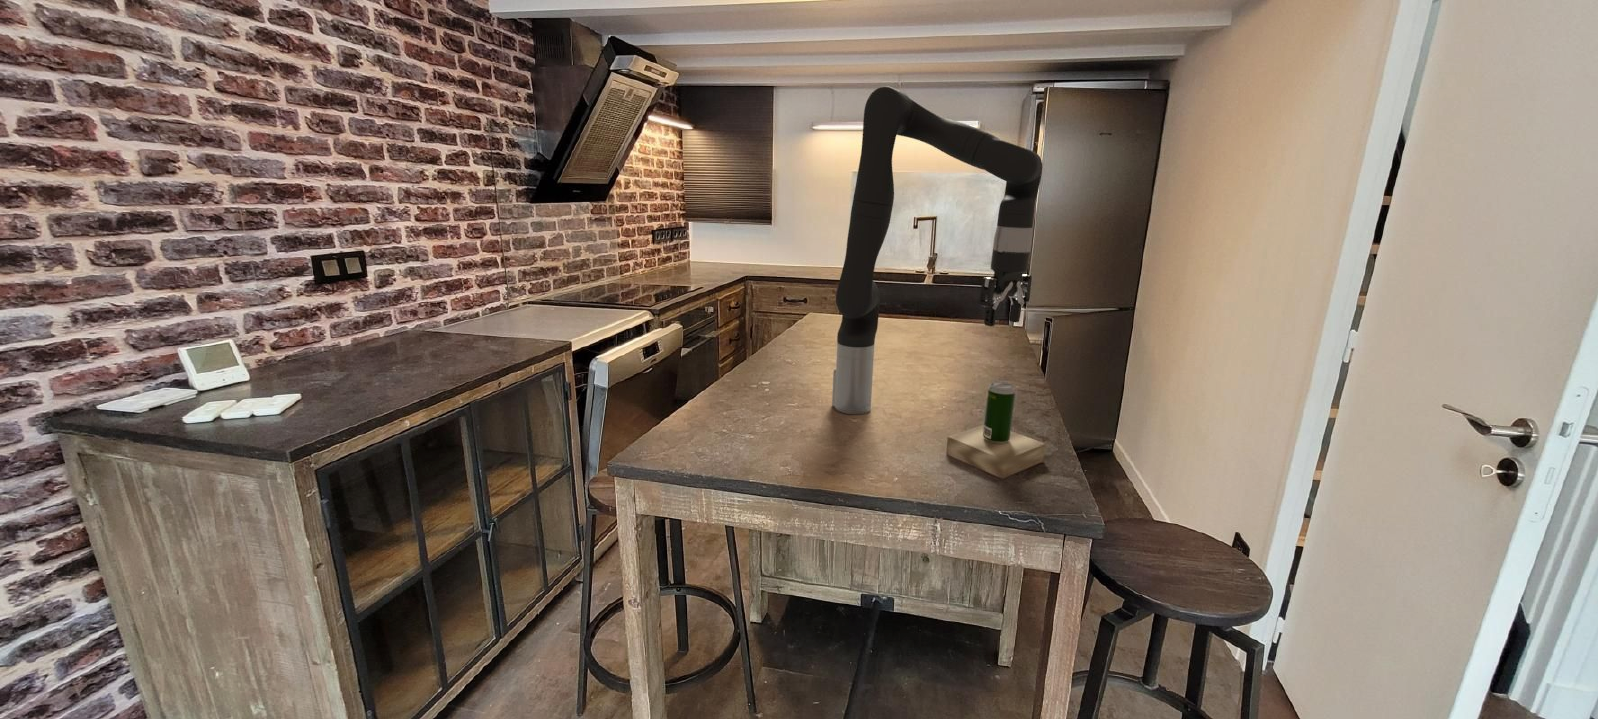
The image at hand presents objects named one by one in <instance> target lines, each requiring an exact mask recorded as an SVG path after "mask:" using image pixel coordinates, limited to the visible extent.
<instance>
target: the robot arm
mask: <svg viewBox="0 0 1598 719" xmlns="http://www.w3.org/2000/svg"><path fill="white" fill-rule="evenodd" d="M862 123H863V124H862V136H861V138H862V140H861V152H860V157H859V163H858V168H857V175H856V182H855V188H854V193H853V197H852V205H851V210H850V217H849V225H848V233H847V240H846V249H845V257H844V263H843V267H842V269H841V270H842V271H841V274H840V278H839V281H838V283H837V284H838V285H837V288H836V294H835V304H836V305H835V306H836V307H837V310H838V312H839V313H840V315H841V316H842V317H841V323H840V326H839V328H838V331H837V336H836V337H837V339H836V362H835V363H836V364H835V365H836V366H835V369H834V370H833V372H832V373H833V375H832V376H833V377H832V378H833V379H832V380H833V381H832V399H831V406H833V407H834V409H835V410H836V411H837V412H840V413H843V414H847V415H863V414H866V413H869V412H871V409H872V394H873V376H874V375H873V374H874V362H875V360H874V359H875V358H874V357H875V341H876V335H877V331H878V327H879V314H880V313H879V312H880V304H881V303H880V301H881V300H880V299H881V298H880V289H879V288H878V287H879V286H878V285H877V284H876V282H874V275H875V274H874V272H875V267H876V262H877V259H878V256H879V254H880V251H881V248H882V246H883V245H884V242H885V239H886V236H887V232H888V230H889V226H890V224H891V219H892V213H893V212H892V211H893V208H894V207H893V206H894V200H895V184H894V175H893V174H894V172H893V154H894V153H893V152H894V147H895V144H896V143H895V142H896V138H897V136H900V137H904V138H905V137H906V138H910V139H914V140H916V141H920V142H922V143H925V144H926V145H930V146H932V147H933V148H935V149H937V150H939V151H941V152H942V153H944V154H946V155H948V156H949V157H951V158H954V159H956V160H958V161H960V162H962V163H965V164H967V165H969V166H970V167H971V166H972V167H974V168H976V169H980V170H983V171H986V172H987V173H989V174H991V175H993V176H995V177H997V178H999V179H1001V180H1002V181H1005V182H1006V183H1005V188H1004V197H1003V198H1002V199H1001V202H1000V204H999V207H998V214H997V223H996V229H995V234H994V238H993V246H992V254H991V262H990V270H992V271H993V276H992V277H986V276H984V277H983V278H982V280H981V287H980V294H979V300H978V305H979V306H981V307H984V308H985V309H984V310H985V311H984V318H983V322H984V325H985V326H987V327H995V325H996V320H997V319H996V318H997V312H998V310H997V308H998V306H999V304H1000V302H1002V301H1004V299H1005V298H1009V300H1010V302H1011V304H1010V307H1009V308H1010V309H1009V316H1008V321H1010V323H1011V322H1012V323H1020V318H1021V314H1022V307H1023V306H1024V304H1025V303H1029V301H1030V297H1031V289H1032V288H1031V287H1032V278H1033V277H1032V275H1031V274H1025V273H1027V272H1028V269H1029V262H1030V256H1031V248H1032V242H1033V234H1032V233H1033V225H1034V216H1035V207H1036V206H1035V205H1036V200H1037V198H1038V197H1037V196H1038V193H1039V192H1038V191H1039V189H1040V184H1041V181H1042V179H1041V178H1042V175H1043V161H1042V158H1041V157H1040V155H1039V154H1038V153H1037V152H1035V151H1034V150H1031V149H1029V148H1025V147H1022V146H1019V145H1017V144H1014V143H1011V142H1008V141H1006V140H1001V139H1000V138H998V137H997V136H995V135H993V134H992V133H989V132H987V131H985V130H981V129H980V128H977V127H974V126H971V125H970V124H966V123H964V122H959V121H957V120H954V119H950V118H948V117H944V116H941V115H939V114H937V113H935V112H933V111H930V110H929V109H927V108H925V107H924V106H922V105H920V104H919V103H918V102H916V101H915V100H913V99H911V98H910V97H909V96H908V95H907V94H906V93H905V92H903V91H901V90H899V89H896V88H894V87H891V86H886V85H885V86H884V85H883V86H879V87H877V88H876V89H874V90H873V91H872V92H871V93H870V95H869V96H868V98H867V100H866V103H865V106H864V110H863V122H862ZM1023 292H1024V293H1023ZM986 295H987V299H986ZM985 299H986V300H985Z"/></svg>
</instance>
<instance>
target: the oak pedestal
mask: <svg viewBox="0 0 1598 719" xmlns="http://www.w3.org/2000/svg"><path fill="white" fill-rule="evenodd" d="M983 430H984V424H982V425H978V426H975V427H972V428H970V429H969V428H968V429H966V430H964V431H960V432H957V433H955V434H952V435H948V436H947V441H946V442H947V443H946V451H945V454H946V455H948V456H950V457H952V458H954V459H956V460H958V461H961V462H963V463H966V464H969V465H970V466H972V467H975V468H977V469H978V470H982V471H983V472H986V473H988V474H991V475H993V476H995V477H996V478H1000V479H1005V478H1008V477H1010V476H1013V475H1014V474H1017V473H1020V472H1022V471H1024V470H1026V469H1029V468H1031V467H1034V466H1036V465H1038V464H1040V463H1043V462H1044V457H1045V450H1046V443H1044V442H1042V441H1039V440H1036V439H1033V438H1031V437H1028V436H1026V435H1023V434H1020V433H1018V432H1015V431H1012V430H1011V433H1010V439H1009V441H1008V442H1007V443H1006V444H1000V445H999V444H992V443H989V442H987V441H985V440H984V437H983Z"/></svg>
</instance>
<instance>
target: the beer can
mask: <svg viewBox="0 0 1598 719" xmlns="http://www.w3.org/2000/svg"><path fill="white" fill-rule="evenodd" d="M1015 400H1016V386H1015V384H1013V383H1009V382H1005V381H993V382H990V383H989V386H988V388H987V396H986V403H985V404H986V405H985V414H984V421H983V425H984V430H983V437H984V440H985V441H987V442H989V443H992V444H999V445H1000V444H1006V443H1007V442H1008V441H1009V439H1010V433H1011V431H1012V424H1013V416H1014V408H1015V402H1016V401H1015Z"/></svg>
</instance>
